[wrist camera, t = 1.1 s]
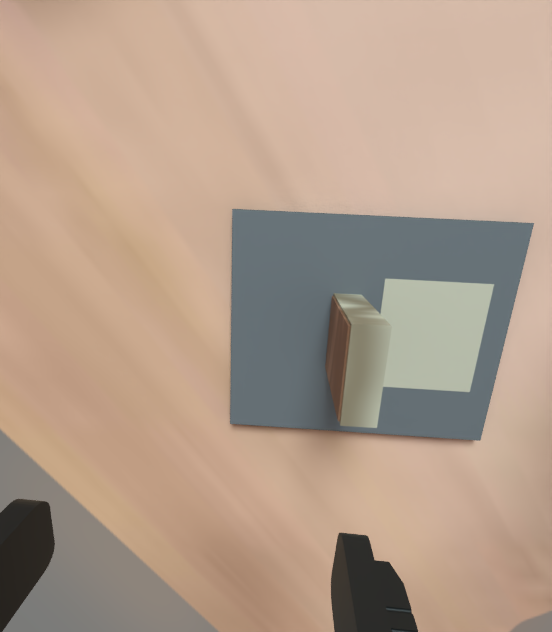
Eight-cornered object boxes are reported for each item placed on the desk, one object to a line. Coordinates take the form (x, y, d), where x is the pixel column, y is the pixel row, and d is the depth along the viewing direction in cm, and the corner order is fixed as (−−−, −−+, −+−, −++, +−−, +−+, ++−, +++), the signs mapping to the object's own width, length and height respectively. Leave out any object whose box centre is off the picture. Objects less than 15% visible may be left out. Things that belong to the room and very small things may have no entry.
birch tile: (361, 294, 29) (392, 326, 20) (352, 369, 31) (377, 428, 22) (331, 293, 29) (349, 323, 20) (324, 367, 31) (337, 425, 22)
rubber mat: (525, 223, 27) (534, 223, 26) (474, 433, 33) (480, 440, 32) (234, 209, 28) (232, 209, 27) (232, 417, 34) (230, 423, 33)
